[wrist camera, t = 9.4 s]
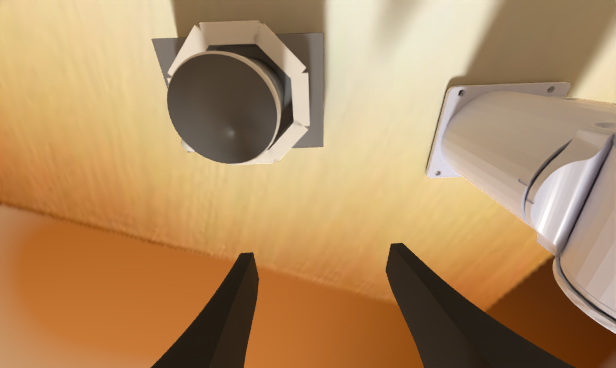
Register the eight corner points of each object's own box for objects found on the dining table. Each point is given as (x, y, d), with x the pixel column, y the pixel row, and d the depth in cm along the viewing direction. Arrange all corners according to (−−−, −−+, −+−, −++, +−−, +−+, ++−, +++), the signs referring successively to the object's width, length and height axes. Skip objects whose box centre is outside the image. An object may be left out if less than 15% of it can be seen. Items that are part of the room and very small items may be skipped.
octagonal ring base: (320, 28, 15) (326, 17, 11) (320, 140, 19) (325, 161, 15) (174, 33, 15) (130, 24, 11) (205, 144, 19) (180, 167, 15)
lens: (300, 94, 14) (301, 113, 9) (257, 143, 16) (236, 183, 11) (243, 35, 13) (205, 18, 8) (200, 96, 14) (143, 116, 9)
